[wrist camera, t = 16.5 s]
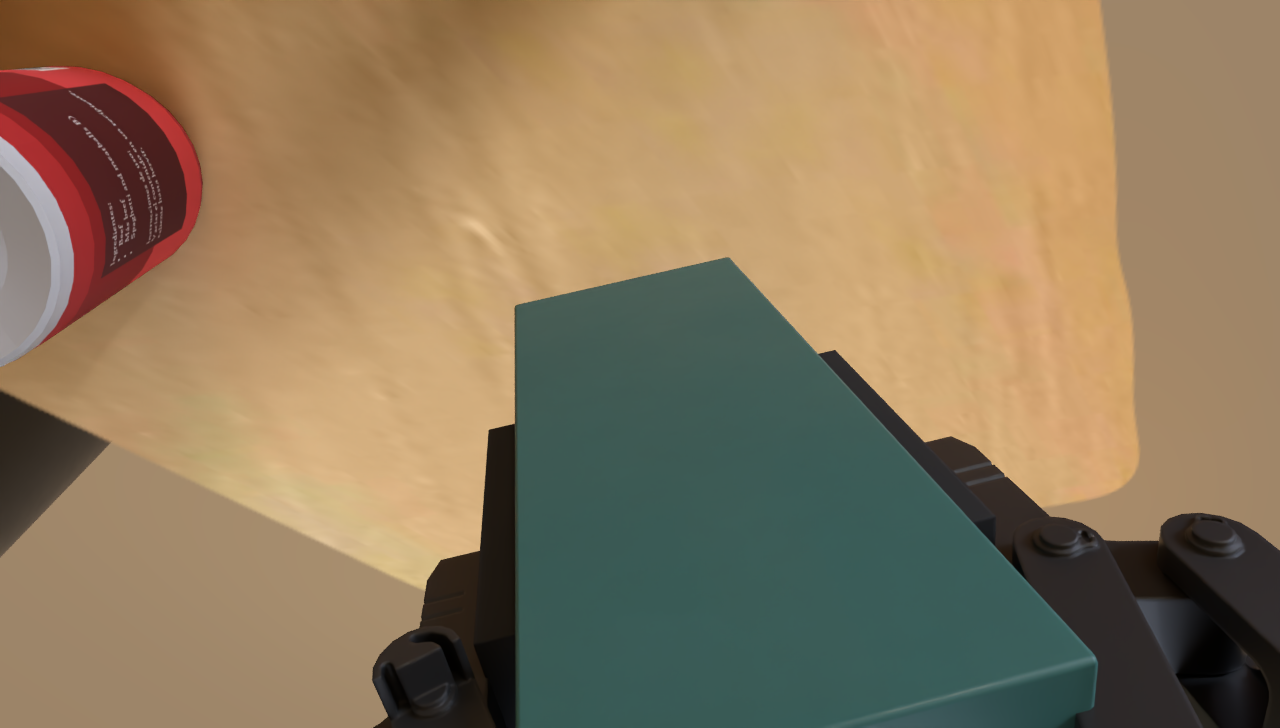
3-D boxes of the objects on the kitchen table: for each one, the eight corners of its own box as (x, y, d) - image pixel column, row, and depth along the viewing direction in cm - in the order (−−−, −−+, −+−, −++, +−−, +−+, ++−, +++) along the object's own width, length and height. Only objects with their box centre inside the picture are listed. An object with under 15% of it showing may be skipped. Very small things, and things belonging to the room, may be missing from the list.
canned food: (-51, 197, 29) (-346, 286, 19) (39, 14, 27) (-235, 9, 17) (152, 307, 32) (-13, 436, 22) (247, 148, 30) (114, 210, 20)
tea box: (649, 1163, 11) (513, 816, 8) (573, 524, 26) (513, 304, 22) (1065, 1041, 12) (1103, 658, 8) (760, 478, 26) (729, 256, 23)
